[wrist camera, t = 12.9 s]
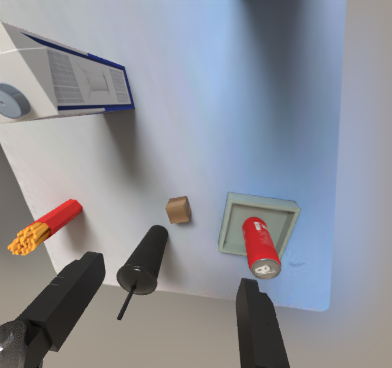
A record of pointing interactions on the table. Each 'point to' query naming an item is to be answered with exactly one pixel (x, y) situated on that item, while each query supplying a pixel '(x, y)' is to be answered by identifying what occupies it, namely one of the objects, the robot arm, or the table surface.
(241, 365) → the robot arm
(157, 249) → the drinking cup
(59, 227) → the french fries
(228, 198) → the tray
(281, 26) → the table surface
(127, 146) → the table surface
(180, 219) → the walnut block
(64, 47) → the milk carton
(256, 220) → the beverage can
